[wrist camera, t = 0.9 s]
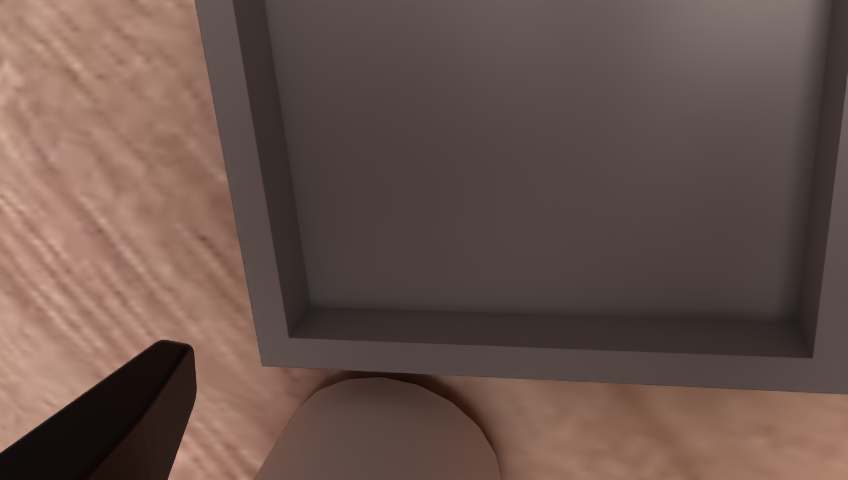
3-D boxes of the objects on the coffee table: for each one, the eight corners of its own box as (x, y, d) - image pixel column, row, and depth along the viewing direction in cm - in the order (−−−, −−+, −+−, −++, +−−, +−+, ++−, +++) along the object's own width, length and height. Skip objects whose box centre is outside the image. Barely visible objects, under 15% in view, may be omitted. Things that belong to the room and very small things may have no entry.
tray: (827, 344, 22) (851, 394, 20) (292, 325, 26) (262, 366, 24) (916, -342, 16) (966, -380, 14) (199, -241, 20) (147, -258, 18)
